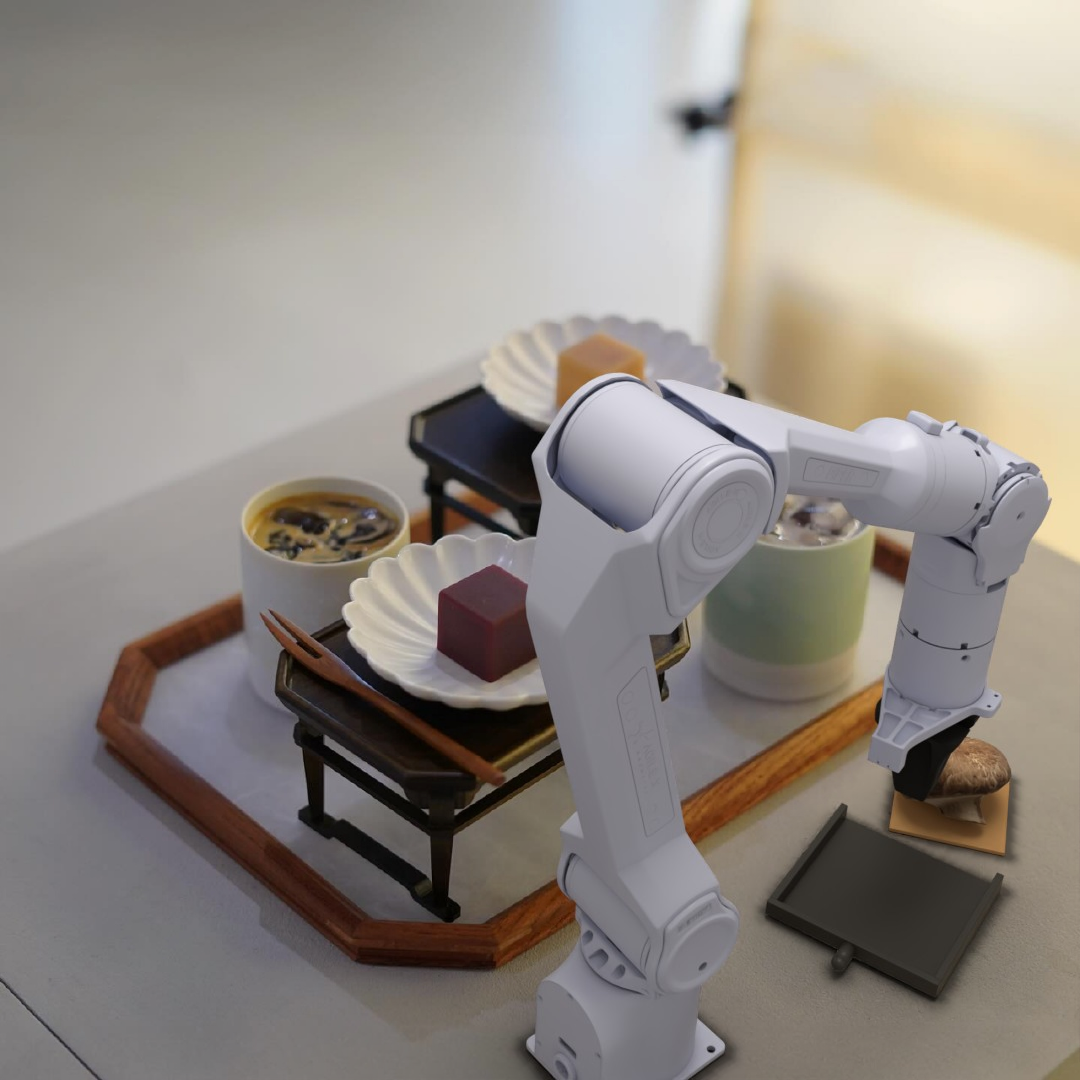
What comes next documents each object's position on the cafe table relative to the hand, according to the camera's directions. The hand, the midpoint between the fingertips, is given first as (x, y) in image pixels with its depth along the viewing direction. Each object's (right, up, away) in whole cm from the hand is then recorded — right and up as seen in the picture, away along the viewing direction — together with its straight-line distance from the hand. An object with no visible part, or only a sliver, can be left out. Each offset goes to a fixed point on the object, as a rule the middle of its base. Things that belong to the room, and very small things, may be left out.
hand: (912, 790), depth 98 cm
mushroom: (+5, -3, +12) cm, 14 cm away
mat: (+6, -3, +12) cm, 14 cm away
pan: (-1, -9, +4) cm, 10 cm away
